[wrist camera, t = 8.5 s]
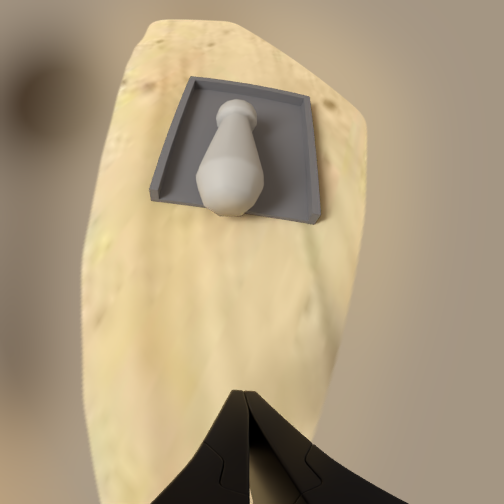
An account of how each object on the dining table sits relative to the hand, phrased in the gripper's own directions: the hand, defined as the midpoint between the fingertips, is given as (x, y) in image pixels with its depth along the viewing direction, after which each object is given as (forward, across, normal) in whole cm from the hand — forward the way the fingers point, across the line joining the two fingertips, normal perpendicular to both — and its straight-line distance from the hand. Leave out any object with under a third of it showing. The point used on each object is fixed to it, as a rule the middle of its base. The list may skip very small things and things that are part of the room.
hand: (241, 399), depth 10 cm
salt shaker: (+17, -1, +4) cm, 17 cm away
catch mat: (+27, 0, +9) cm, 28 cm away
